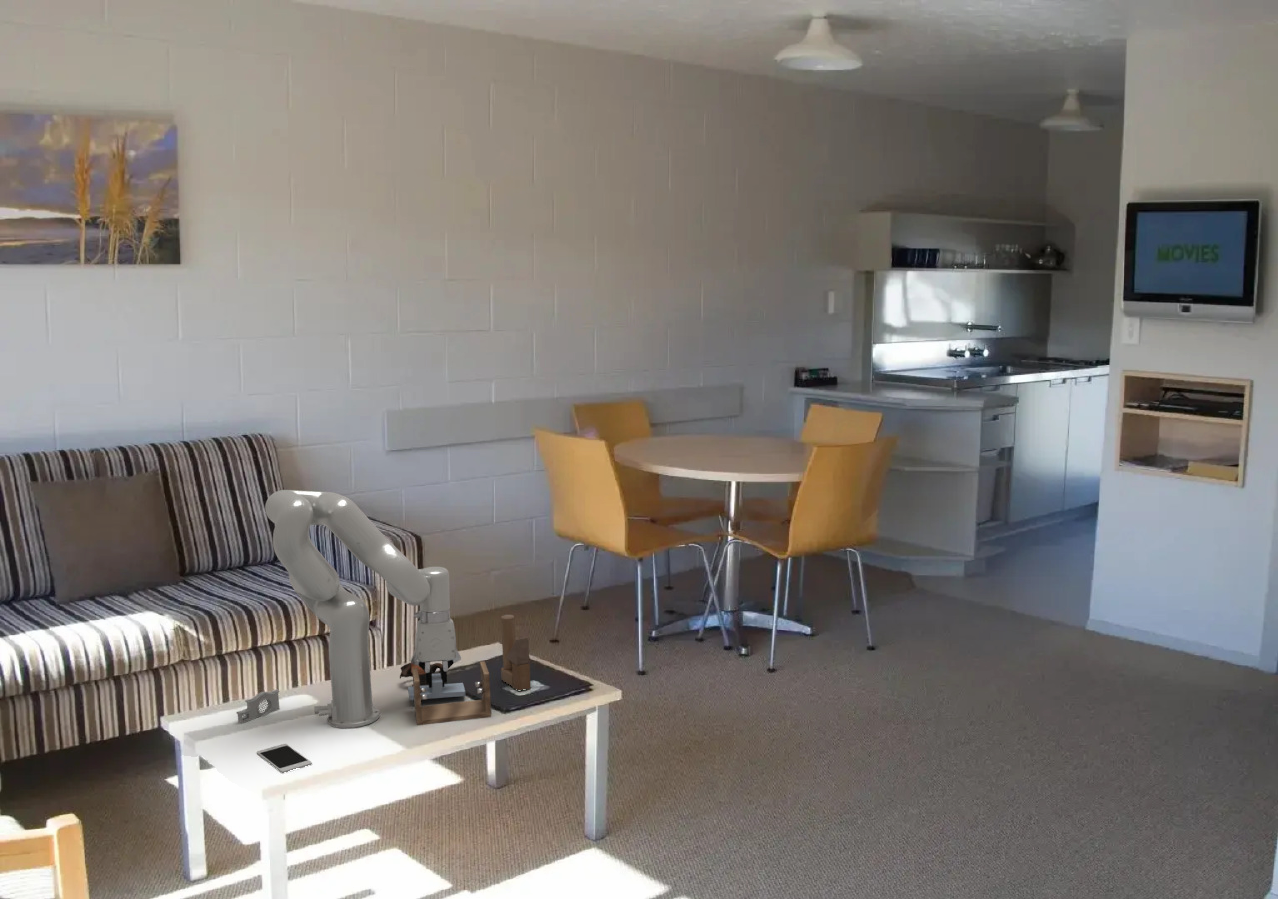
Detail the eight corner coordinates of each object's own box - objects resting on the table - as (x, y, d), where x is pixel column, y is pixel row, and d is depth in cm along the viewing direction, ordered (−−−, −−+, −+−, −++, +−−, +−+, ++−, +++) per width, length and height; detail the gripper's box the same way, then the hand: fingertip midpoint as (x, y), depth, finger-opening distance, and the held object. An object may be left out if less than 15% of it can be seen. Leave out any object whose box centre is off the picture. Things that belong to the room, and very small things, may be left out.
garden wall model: (240, 724, 300) (238, 701, 299) (236, 723, 301) (234, 700, 300) (281, 709, 310) (279, 687, 309) (276, 708, 311) (275, 686, 310)
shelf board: (409, 700, 308) (409, 684, 307) (408, 691, 315) (407, 675, 314) (465, 696, 311) (465, 680, 311) (462, 687, 318) (462, 671, 317)
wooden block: (518, 692, 317) (515, 625, 314) (501, 681, 326) (498, 615, 323) (531, 689, 319) (528, 622, 316) (513, 678, 328) (510, 613, 325)
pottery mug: (402, 696, 318) (394, 666, 320) (409, 700, 327) (400, 671, 329) (447, 681, 319) (438, 651, 321) (452, 686, 328) (443, 656, 330)
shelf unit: (417, 725, 296) (414, 681, 294) (414, 710, 305) (412, 668, 304) (491, 716, 300) (489, 673, 298) (486, 702, 310) (484, 661, 308)
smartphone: (282, 775, 270) (282, 771, 270) (256, 755, 282) (255, 751, 282) (313, 766, 274) (312, 762, 274) (285, 746, 286) (285, 743, 286)
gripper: (403, 621, 305) (405, 692, 307) (468, 617, 309) (469, 688, 311) (402, 614, 312) (403, 683, 314) (465, 610, 316) (466, 679, 318)
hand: (436, 685), depth 313 cm, fingers closed on shelf board, 2 cm apart
